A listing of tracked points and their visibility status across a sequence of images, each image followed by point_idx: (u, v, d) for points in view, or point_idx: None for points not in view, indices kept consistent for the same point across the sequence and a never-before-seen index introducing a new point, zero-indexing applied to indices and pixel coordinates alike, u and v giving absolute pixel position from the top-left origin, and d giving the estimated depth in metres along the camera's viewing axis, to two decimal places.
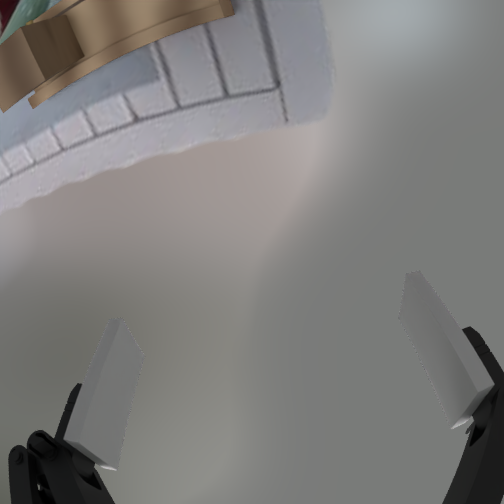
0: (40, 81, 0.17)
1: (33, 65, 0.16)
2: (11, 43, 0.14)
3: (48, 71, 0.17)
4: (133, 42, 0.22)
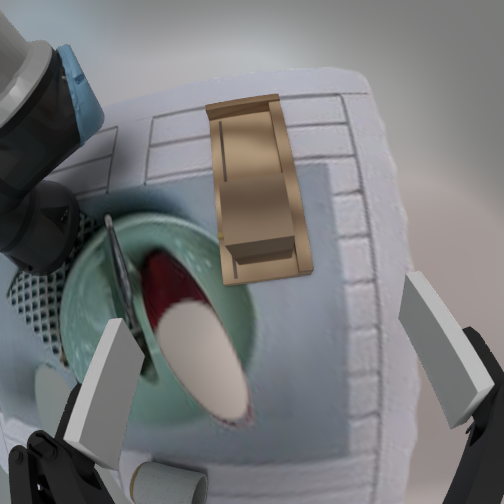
0: (282, 177, 0.27)
1: (263, 180, 0.27)
2: (228, 195, 0.27)
3: None
4: (285, 154, 0.35)
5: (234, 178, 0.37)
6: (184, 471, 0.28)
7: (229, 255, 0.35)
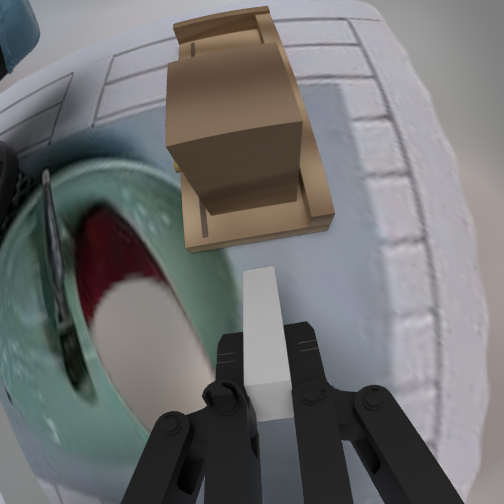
0: (274, 47, 0.13)
1: (242, 51, 0.13)
2: (180, 75, 0.13)
3: None
4: None
5: None
6: None
7: (195, 201, 0.21)
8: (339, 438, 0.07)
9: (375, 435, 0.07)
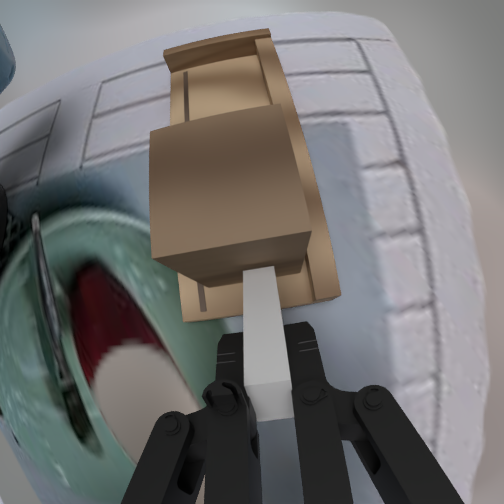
0: (278, 111, 0.12)
1: (238, 117, 0.12)
2: (165, 152, 0.12)
3: None
4: (282, 102, 0.20)
5: None
6: None
7: None
8: (339, 438, 0.07)
9: (375, 435, 0.07)
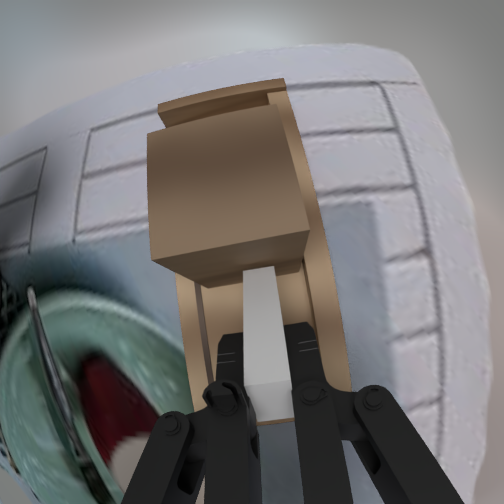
0: (275, 112, 0.12)
1: (235, 118, 0.12)
2: (162, 154, 0.12)
3: None
4: (302, 192, 0.19)
5: None
6: None
7: (204, 384, 0.18)
8: (339, 438, 0.07)
9: (375, 435, 0.07)
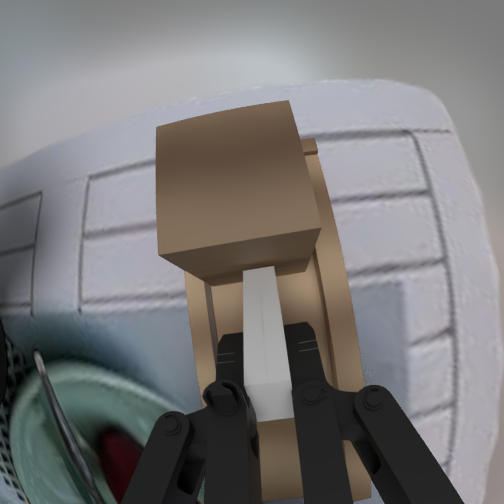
0: (287, 108, 0.12)
1: (246, 113, 0.12)
2: (171, 148, 0.12)
3: None
4: (336, 290, 0.17)
5: (230, 329, 0.19)
6: None
7: None
8: (339, 438, 0.07)
9: (375, 435, 0.07)
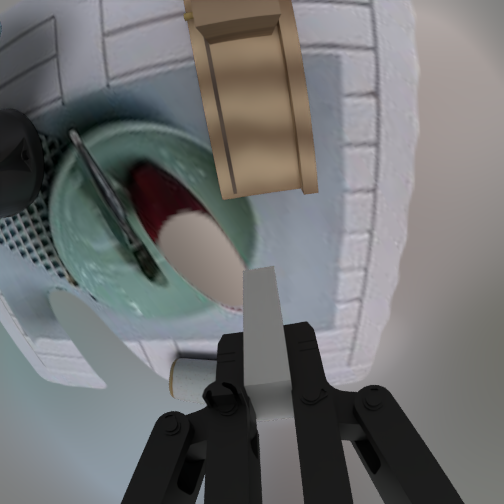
0: None
1: None
2: None
3: None
4: (293, 54, 0.23)
5: (224, 76, 0.26)
6: (207, 366, 0.44)
7: (226, 169, 0.31)
8: (339, 438, 0.07)
9: (375, 435, 0.07)
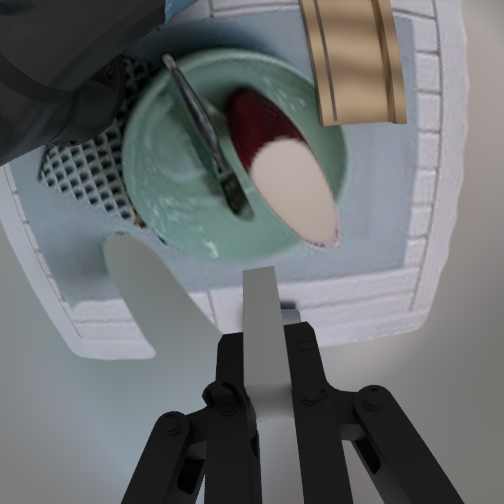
0: None
1: None
2: None
3: None
4: (386, 10, 0.23)
5: (329, 20, 0.26)
6: (285, 313, 0.44)
7: (328, 98, 0.31)
8: (339, 438, 0.07)
9: (375, 435, 0.07)
